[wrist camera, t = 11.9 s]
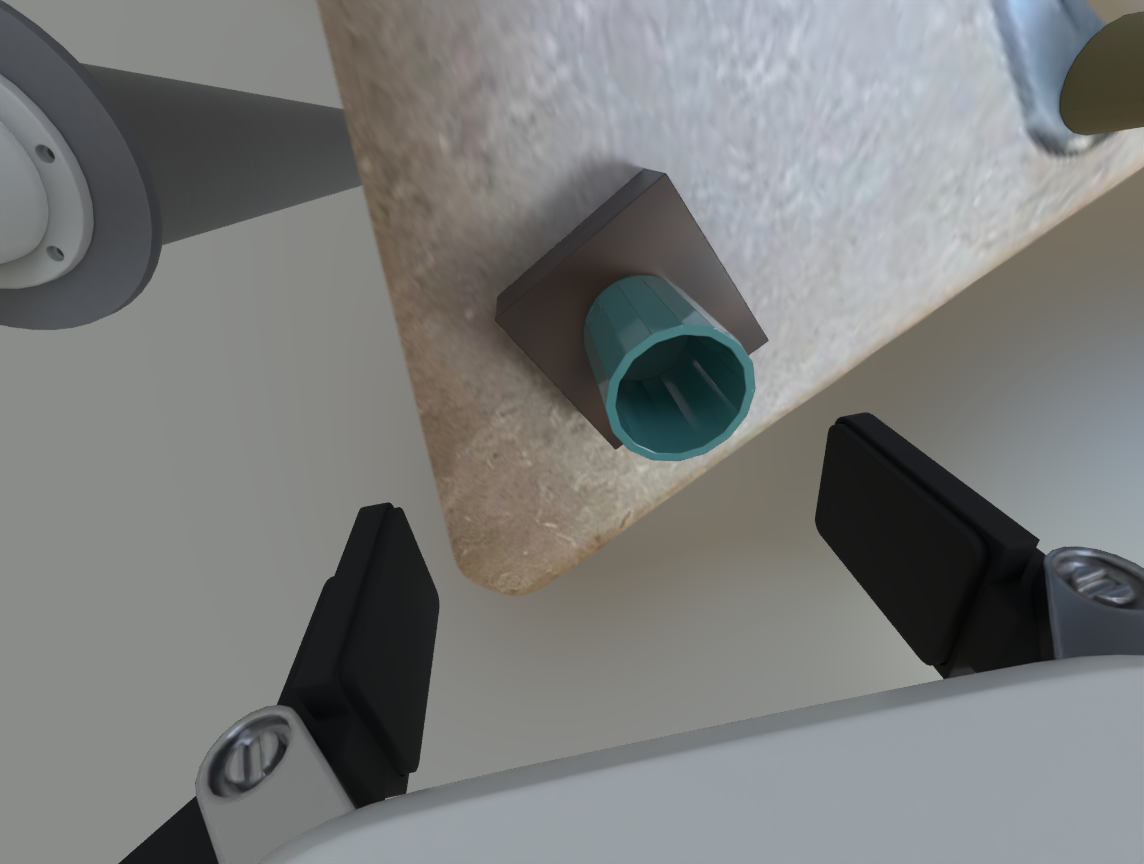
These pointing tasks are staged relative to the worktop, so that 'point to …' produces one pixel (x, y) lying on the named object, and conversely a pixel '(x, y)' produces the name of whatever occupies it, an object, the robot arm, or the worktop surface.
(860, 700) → the robot arm
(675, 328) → the teal cup
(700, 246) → the plate
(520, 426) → the worktop surface
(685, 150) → the worktop surface
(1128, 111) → the olive pepper mill
